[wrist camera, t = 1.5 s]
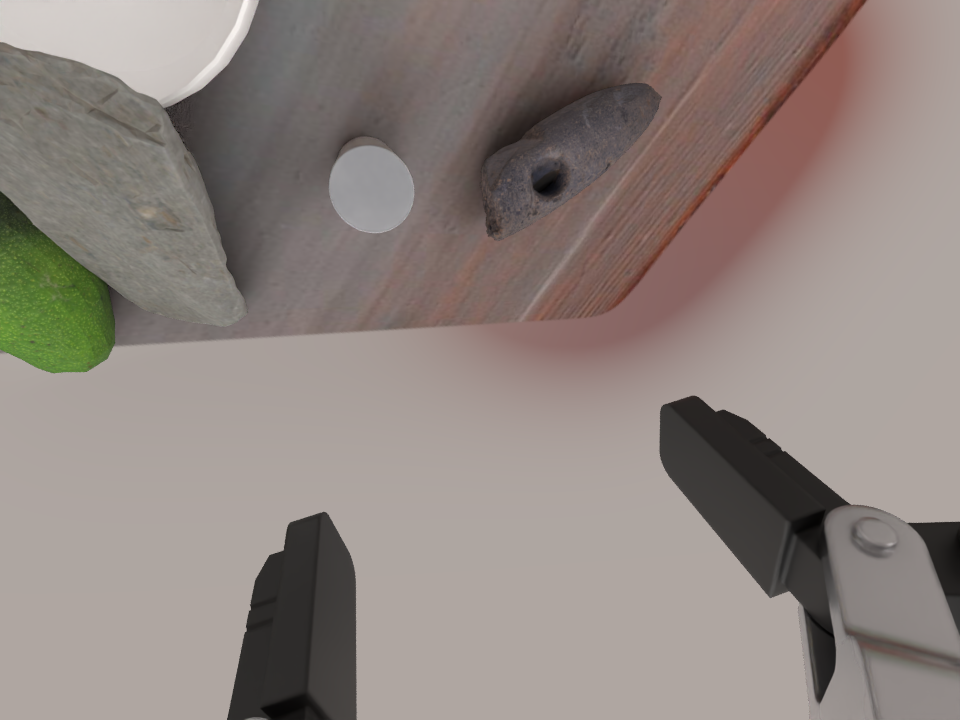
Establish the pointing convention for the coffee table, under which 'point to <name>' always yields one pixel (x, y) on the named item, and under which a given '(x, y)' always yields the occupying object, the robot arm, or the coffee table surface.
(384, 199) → the salt shaker
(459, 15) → the coffee table surface
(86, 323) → the fruit
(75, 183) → the stone
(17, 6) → the bowl
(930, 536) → the robot arm
